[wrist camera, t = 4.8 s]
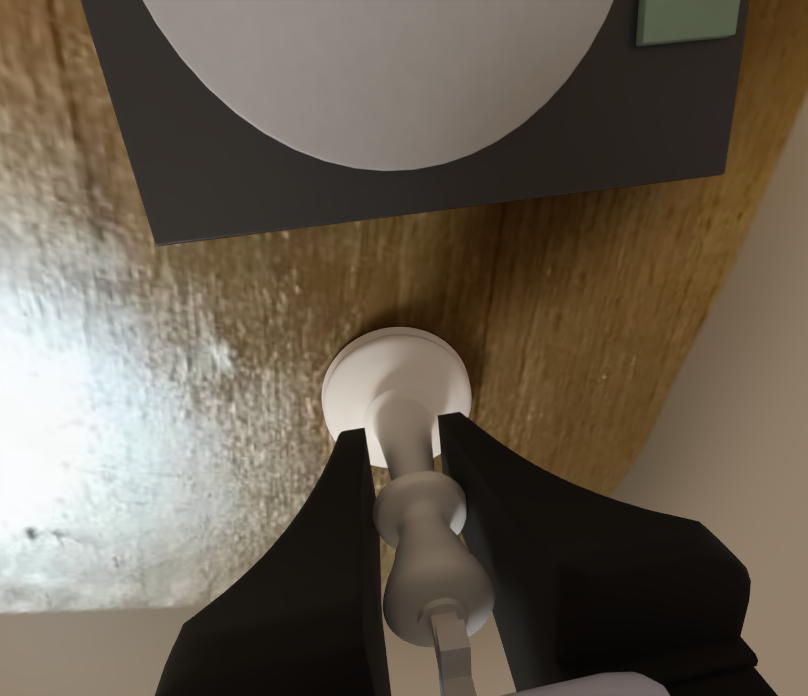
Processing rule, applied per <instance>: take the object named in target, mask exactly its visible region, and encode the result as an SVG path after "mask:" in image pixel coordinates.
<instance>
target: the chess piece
mask: <svg viewBox="0 0 808 696" xmlns="http://www.w3.org/2000/svg"><path fill="white" fill-rule="evenodd" d="M322 407H323V412H324V417H325V421H326V424H327V427H328V429H329V431H330V433H331V435H332V437H333V438H334V440H335V441H337V438H338V435H339V434H340V433H341V432H342V431H347V430H353V429H359V428H365V433H366V439H367V446H368V452H369V458H370V464H371V465H374V466H378V467H385V468H388V470H389V473H390V476H391V479H392V481H391V482H390V483H388V484H387V485H386V486H385V487H384V488H383V489H382V490H381V492H380V493H379V495H378V496H377V498H376V500H375V503H374V506H373V521H374V524H375V527H376V529H377V530H378V532H379V534H380V536H381V537H382V539H383V540H384V541H385V542H386V543H387V544H388V545H390V546H391V547H393V548H395V549H396V553H395V560H394V564H393V567H392V570H391V572H390V575H389V577H388V581H387V585H386V589H385V593H384V599H383V613H384V617H385V620H386V622H387V624H388V626H389V627H390V629H391V630H392V631H393V632H394V633H395V634H396V635H397V636H398V637H400V638H401V639H403V640H404V641H407V642H409V643H411V644H414V645H418V646H424V647H435V652H436V657H437V663H438V668H439V679H440V692H441V696H476V692H475V688H474V684H473V680H472V676H471V650H470V643H469V639H468V637H470V636H471V635H473V634H474V633H475V632H477V631H478V629H480V628H481V627H482V626H483V625H484V624H485V622H486V621H487V620H488V618H489V616H490V614H491V612H492V610H493V607H494V602H495V591H494V586H493V583H492V581H491V579H490V577H489V575H488V574H487V572H486V571H485V569H484V568H483V566H482V565H481V564H480V563H479V561H478V560H477V559H476V558H475V557H474V556H473V555H472V554H471V553H470V552H469V551H468V550H467V549H466V547H465V546H464V545H463V544H462V542H461V540H460V539H459V537H458V536H457V535H458V534H459V533H460V531H461V530H462V528H463V526H464V524H465V521H466V515H467V504H466V496H465V493H464V491H463V489H462V488H461V486H460V485H459V484H458V483H457V482H456V481H455V480H453V479H452V478H450V477H449V476H447V475H444V474H442V473H438V472H435V470H434V460H433V458H434V457H436V456H437V455H439V454H440V453H441V448H440V437H439V426H438V415H443V414H449V413H455V412H461V413H462V414H463V415H465V416H466V417H467V418H468V417H469V413H470V409H471V387H470V383H469V378H468V374H467V371H466V368H465V366H464V364H463V362H462V360H461V358H460V357H459V355H458V354H457V353H456V351H455V350H454V349H453V348H452V347H451V346H450V345H449V344H448V343H446V342H445V341H444V340H442V339H441V338H439V337H437V336H435V335H434V334H431V333H429V332H426V331H423V330H420V329H416V328H410V327H389V328H383V329H379V330H375V331H372V332H369V333H367V334H365V335H362V336H361V337H359V338H357V339H355V340H354V341H352V342H351V343H350V344H348V345H347V346H346V347H345V348H344V349H343V350H342V351H341V352H340V353H339V354H338V355H337V356H336V357H335V359H334V360H333V362H332V363H331V365H330V367H329V368H328V371H327V373H326V375H325V378H324V382H323V386H322Z"/></svg>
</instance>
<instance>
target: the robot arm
mask: <svg viewBox="0 0 808 696" xmlns="http://www.w3.org/2000/svg"><path fill="white" fill-rule="evenodd" d="M438 426H439V437H440V448H441V460H442V471H443V474H444V475H447V476H449V477H450V478H452V479H453V480H455V481H456V482H457V483H458V484H459V485H460V486H461V488H462V489H463V491H464V493H465V496H466V504H467V515H466V521H465V524H464V526H463V528H462V530H461V533H462V535H463V538H464V540H465V542H466V545H467V547H468V549H469V552H470V553H471V554H472V555H473V556H474V557H475V558H476V559H477V560H478V561H479V563H480V564H481V565H482V566H483V568H484V569H485V571H486V572H487V574H488V575H489V577H490V579H491V581H492V583H493V586H494V591H495V602H494V607H493V610H492V611H493V615H494V618H495V621H496V624H497V627H498V631H499V634H500V637H501V641H502V644H503V647H504V651H505V654H506V657H507V661H508V664H509V667H510V671H511V674H512V678H513V681H514V684H515V687H516V691H517V692H515V693H511V694H507V695H502V696H778V695H777V694H776V693H775V692H774V691H773V689H772V688H771V687H770V686H769V685H768V683H766V681H765V680H764V679H763V677H762V676H761V675H760V674H759V673H758V671H757V670H756V669H755V668H754V666H757V662H758V659H757V657H756V654H755V653H754V652H753V651H752V650H751V648H750V647H749V646H748V645H747V644H746V642H745V641H744V640H743V639H742V638H741V637H740V635H741V631H742V627H743V623H744V618H745V615H746V611H747V606H748V603H749V596H750V584H751V581H750V577H749V574H748V571H747V568H746V567H745V566H744V565H743V564H742V563H741V562H740V560H739V559H738V558H737V557H736V556H735V555H734V554H733V553H732V552H731V551H730V550H729V549H728V548H727V547H726V546H725V545H724V544H723V543H722V542H721V541H720V540H719V539H718V538H717V537H716V536H715V535H713V534H712V533H711V532H710V531H709V530H708V529H707V528H706V527H705V526H703V525H702V524H701V523H700V522H698V521H694V520H690V519H686V518H681V517H677V516H672V515H668V514H664V513H659V512H655V511H651V510H647V509H643V508H640V507H637V506H633V505H630V504H627V503H623V502H620V501H617V500H614V499H611V498H608V497H605V496H603V495H600V494H597V493H595V492H592V491H590V490H587V489H585V488H582V487H580V486H577V485H575V484H572V483H570V482H568V481H566V480H564V479H561V478H559V477H557V476H555V475H553V474H551V473H549V472H547V471H545V470H543V469H542V468H540V467H538V466H536V465H534V464H533V463H531V462H529V461H528V460H526V459H524V458H523V457H521V456H519V455H518V454H516V453H515V452H513V451H512V450H510V449H509V448H507V447H506V446H504V445H503V444H501V443H500V442H498V441H497V440H496V439H494V438H493V437H492V436H490V435H489V434H488V433H486V432H485V431H484V430H482V429H481V428H480V427H479V426H477V425H476V424H475V423H474V422H472V421H471V420H470V419H469V418H467V417H466V416H465V415H463V414H462V413H461V412H455V413H449V414H443V415H438ZM375 500H376V496H375V489H374V483H373V477H372V471H371V464H370V458H369V452H368V446H367V439H366V433H365V428H359V429H353V430H347V431H342V432H341V433H340V434H339V435H338V438H337V441H336V444H335V447H334V449H333V452H332V454H331V456H330V458H329V461H328V463H327V465H326V467H325V469H324V471H323V473H322V475H321V477H320V479H319V480H318V482H317V484H316V486H315V487H314V489H313V491H312V492H311V494H310V496H309V497H308V499H307V501H306V502H305V504H304V505H303V507H302V508H301V510H300V511H299V513H298V514H297V516H296V517H295V518H294V520H293V521H292V522H291V524H290V525H289V526H288V528H287V529H286V530H285V532H284V533H283V534H282V535H281V536H280V538H279V539H278V540H277V541H276V542H275V543H274V545H273V546H272V547H271V548H270V549H269V550H268V551H267V552H266V554H265V555H264V556H263V557H262V558H261V559H260V560H259V561H258V562H257V563H256V564H255V565H254V566H253V567H252V568H251V569H250V570H249V571H248V572H247V573H245V574H244V575H243V576H242V577H241V578H240V579H239V580H238V581H237V582H236V583H234V584H233V585H232V586H231V587H230V588H229V589H228V590H226V591H225V592H224V593H223V594H222V595H220V596H219V597H218V598H216V599H215V600H214V601H213V602H211V603H210V604H209V605H208V606H206V607H205V608H204V609H203V610H201V611H200V612H199V613H197V614H196V615H195V616H194V617H192V618H191V619H190V620H188V621H187V622H186V623H184V624H183V626H182V629H181V631H180V633H179V635H178V638H177V640H176V642H175V644H174V646H173V648H172V650H171V653H170V655H169V657H168V660H167V662H166V664H165V667H164V670H163V673H162V676H161V679H160V682H159V685H158V688H157V691H156V694H155V696H391V690H390V682H389V673H388V664H387V656H386V647H385V639H384V631H383V622H382V607H381V573H380V534H379V532H378V530H377V529H376V527H375V524H374V521H373V506H374V503H375Z"/></svg>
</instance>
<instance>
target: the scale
mask: <svg viewBox="0 0 808 696" xmlns="http://www.w3.org/2000/svg"><path fill="white" fill-rule="evenodd" d="M749 1H750V0H81V3H82V6H83V9H84V12H85V16H86V19H87V22H88V25H89V29H90V32H91V35H92V38H93V42H94V45H95V48H96V52H97V55H98V58H99V61H100V65H101V68H102V71H103V74H104V78H105V81H106V84H107V87H108V91H109V94H110V97H111V100H112V104H113V107H114V110H115V114H116V117H117V120H118V123H119V127H120V130H121V133H122V136H123V140H124V143H125V146H126V149H127V153H128V156H129V159H130V163H131V166H132V169H133V172H134V176H135V179H136V182H137V185H138V189H139V192H140V195H141V198H142V202H143V205H144V208H145V212H146V215H147V218H148V221H149V225H150V228H151V231H152V234H153V238H154V241H155V244H156V245H157V246H164V245H172V244H179V243H187V242H195V241H203V240H211V239H219V238H227V237H235V236H243V235H251V234H258V233H266V232H274V231H282V230H290V229H298V228H306V227H314V226H322V225H330V224H337V223H345V222H353V221H361V220H369V219H377V218H385V217H393V216H401V215H409V214H416V213H424V212H432V211H440V210H448V209H456V208H464V207H472V206H480V205H488V204H495V203H503V202H511V201H519V200H527V199H535V198H543V197H551V196H559V195H567V194H574V193H582V192H590V191H598V190H606V189H614V188H622V187H630V186H638V185H646V184H653V183H661V182H669V181H677V180H685V179H693V178H701V177H709V176H717V175H722V174H724V172H725V166H726V159H727V152H728V145H729V138H730V131H731V125H732V118H733V111H734V104H735V97H736V90H737V84H738V77H739V70H740V63H741V56H742V49H743V43H744V36H745V29H746V22H747V15H748V8H749Z"/></svg>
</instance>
